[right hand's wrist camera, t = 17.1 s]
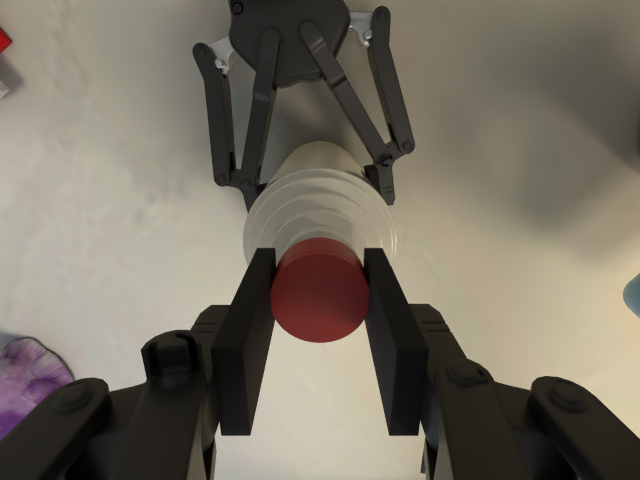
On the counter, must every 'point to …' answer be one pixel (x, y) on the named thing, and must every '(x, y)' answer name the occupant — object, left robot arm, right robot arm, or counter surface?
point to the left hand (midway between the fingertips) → (329, 250)
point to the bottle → (319, 205)
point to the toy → (3, 41)
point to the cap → (319, 290)
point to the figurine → (27, 380)
